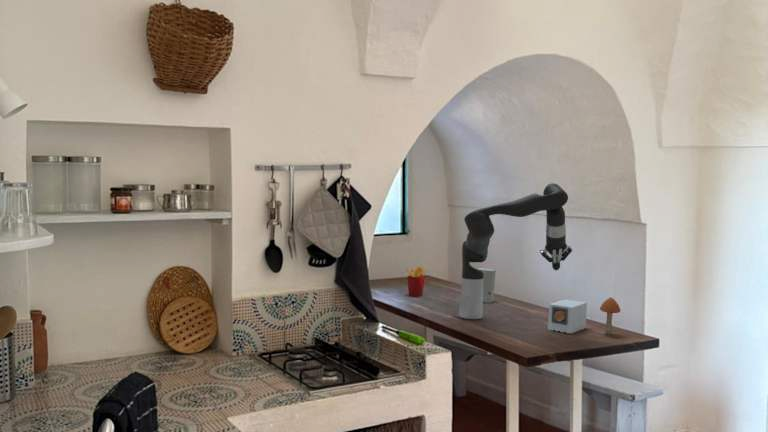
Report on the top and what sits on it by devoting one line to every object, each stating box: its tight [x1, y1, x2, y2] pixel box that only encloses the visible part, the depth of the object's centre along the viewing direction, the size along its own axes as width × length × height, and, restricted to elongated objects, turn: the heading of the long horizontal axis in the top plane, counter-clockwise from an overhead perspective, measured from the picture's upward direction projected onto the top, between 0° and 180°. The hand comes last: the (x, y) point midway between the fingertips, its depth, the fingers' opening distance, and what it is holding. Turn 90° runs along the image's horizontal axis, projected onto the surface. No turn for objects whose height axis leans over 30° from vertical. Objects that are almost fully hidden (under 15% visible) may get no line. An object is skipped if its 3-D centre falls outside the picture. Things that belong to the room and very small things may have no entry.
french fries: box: [406, 265, 427, 298], centre depth 377 cm, size 9×8×15 cm
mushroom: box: [599, 297, 621, 336], centre depth 302 cm, size 8×8×15 cm
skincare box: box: [477, 267, 496, 304], centre depth 366 cm, size 8×7×16 cm
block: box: [547, 299, 588, 334], centre depth 311 cm, size 15×10×10 cm
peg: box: [555, 310, 565, 321], centre depth 310 cm, size 12×4×4 cm, turn 141°
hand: (556, 269), depth 306 cm, fingers closed
